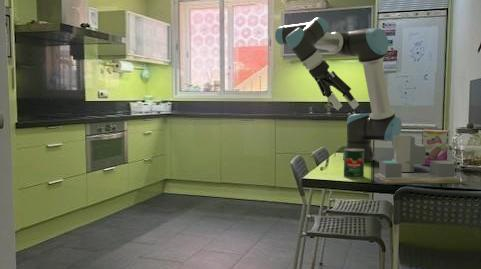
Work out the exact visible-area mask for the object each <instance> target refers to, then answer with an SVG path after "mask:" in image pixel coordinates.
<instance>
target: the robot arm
mask: <svg viewBox="0 0 481 269" xmlns="http://www.w3.org/2000/svg"><path fill="white" fill-rule="evenodd" d="M328 30H329V25H328V22H327V21H326V19H324V18H323V17H319V16H318V17H315V18H314V19H311V20H310V21H309V22H303V23H297V24H289V25H283V26H282V25H281V26H279V27H278V28H276V30H275V32H274V37H275V41H276V42H277V44H278V45H281V46H283V45H284V46H285V45H288V46H289V48H290V49H291V51H292V52H293V53H294V55H295V56H296V57H297V58H298V60H300V62H301V63H302V66H303V67H305V69H306V70H308V73H309V74H310V75H311V77H312V78H313V79H314V81H315V82H316V84H317V85H318V88H319V89H320V93H321V94H322V96H323V97H326V98H327V99H328V100H329V102H330V103H331V104H332V105H333V107H334V108H335V109H336V111H339V110H340V109H341V108H342V107H343V104H342V103H341V102H340V101H339V99H338V97H337V96H336V95H335V94H334V92H333V90H332V89H331V87H333V88H335V89H336V90H337V91H339V92H340V93H341V94H342V97H343V98H344V99H345V100H346V101H347V103H348V104H349V105H350V107H351V108H352V109H353V110H355V109H357V107H359V106H360V104H359V102H358V101H357V100H356V98H355V97H354V95H353V94H352V93H351V92H350V91H351V90H352V88H351V87H350V86H349V85H348V84H347V83H346V82H345V80H344V81H343V79H341V78H340V77H339V76H338V75H337V73H336V72H335V71H334V70H332V71H331V72H330V71H329V69H330V65H329V63H328V62H327V61H326V59H324V56H323V55H322V54H321V52H320V51H319V50H324V51H327V52H329V53H330V54H335V55H340V56H345V57H357V58H358V62H359V63H360V64H362V66H363V72H364V78H365V82H366V87H367V93H368V98H369V105H370V110H371V113H370V112H368V113H358V114H351V115H349V116H348V117H347V121H346V146H345V149H347V148H358V149H364V163H366V162H367V163H368V162H374V161H375V154H374V151H373V147H372V145H371V144H372V142H371V141H378V142H379V141H380V142H392V139H393V135H394V136H396V135H400V134H401V132H402V127H403V126H402V124H403V123H402V120H401V118H400V117H398V116H396V114H395V113H396V112H395V111H394V110H393V109H391V104H390V99H389V97H390V96H389V93H388V92H389V91H388V86H387V81H386V75H385V69H384V68H385V67H384V63H383V60H384V58H385V57H386V53H387V52H388V51H389V46H390V45H389V44H390V43H389V39H388V38H389V37H388V36H387V33H385V30H383V29H381V28H379V27H376V28H373V27H372V28H364V29H356V30H349V31H342V32H338V31H334V32H329V31H328ZM318 49H319V50H318ZM400 136H401V135H400ZM342 159H343V161H344V153H343V156H342ZM373 160H374V161H373Z"/></svg>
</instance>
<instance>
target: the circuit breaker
mask: <svg viewBox="0 0 481 269" xmlns="http://www.w3.org/2000/svg"><path fill="white" fill-rule="evenodd" d="M415 143H416V138H415V136H413V135H396V136H394V135H393V139H392V141H391V146H392V148H393V158H391V161H396V162H398V163H401V164H402V172H414V173H415V165H421V164H425V157H426V155H429V153H428V152H426V146H424V145H422V143H421V144H420V143H419V144H417V143H416V144H415Z"/></svg>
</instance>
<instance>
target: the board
mask: <svg viewBox="0 0 481 269" xmlns="http://www.w3.org/2000/svg"><path fill="white" fill-rule="evenodd" d="M374 176H375V177H377V178H379V179H380V180H382V181H384V182H386V183H385V184H461V183H462V181H461V179H459V178H458V179H431V180H383V179H382V178H380V177H378V176H376V173H375V174H374ZM375 177H374V178H375ZM377 178H376V179H377ZM379 179H378V180H379ZM380 180H379V181H380ZM382 181H381V182H382ZM384 182H383V183H384ZM387 182H388V183H387Z"/></svg>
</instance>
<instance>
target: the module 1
mask: <svg viewBox="0 0 481 269" xmlns="http://www.w3.org/2000/svg"><path fill="white" fill-rule="evenodd" d="M378 164H379V165H378V167H379V168H378V173H379V174H381V175H383V176H384V177H401V175H402V164H401V163H398V162H396V161H392V160H379V161H378Z"/></svg>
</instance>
